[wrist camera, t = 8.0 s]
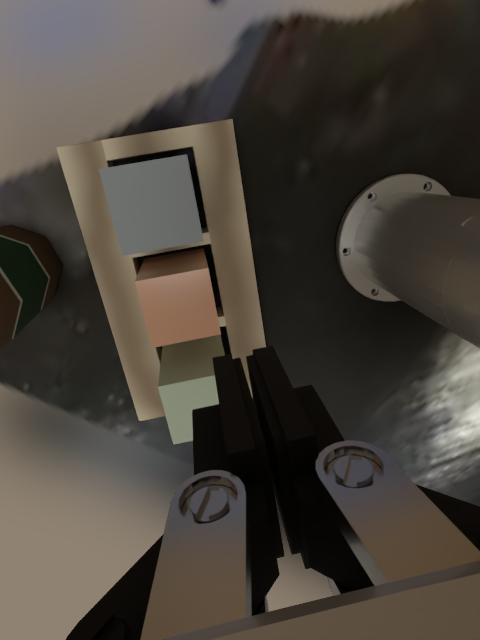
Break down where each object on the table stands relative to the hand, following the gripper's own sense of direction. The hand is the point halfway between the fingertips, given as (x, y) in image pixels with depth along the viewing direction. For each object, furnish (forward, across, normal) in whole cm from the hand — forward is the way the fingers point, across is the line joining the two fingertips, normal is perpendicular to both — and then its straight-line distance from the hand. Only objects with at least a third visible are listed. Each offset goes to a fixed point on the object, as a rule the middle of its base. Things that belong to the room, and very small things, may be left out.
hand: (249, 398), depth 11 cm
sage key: (+26, +3, +12) cm, 29 cm away
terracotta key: (+28, +3, +4) cm, 29 cm away
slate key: (+26, +3, -4) cm, 27 cm away
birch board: (+29, +3, +4) cm, 30 cm away
